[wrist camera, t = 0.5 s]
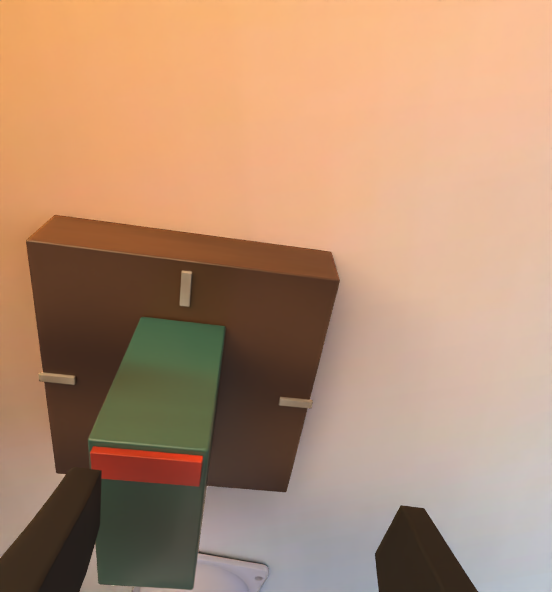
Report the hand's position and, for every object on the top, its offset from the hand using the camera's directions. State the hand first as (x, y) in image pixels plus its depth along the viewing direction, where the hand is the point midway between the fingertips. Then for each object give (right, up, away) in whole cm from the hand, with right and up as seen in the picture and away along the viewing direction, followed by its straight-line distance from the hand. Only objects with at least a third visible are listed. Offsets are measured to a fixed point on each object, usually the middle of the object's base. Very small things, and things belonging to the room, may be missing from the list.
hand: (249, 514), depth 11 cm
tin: (-3, +1, +8) cm, 9 cm away
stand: (-3, +3, +10) cm, 11 cm away
